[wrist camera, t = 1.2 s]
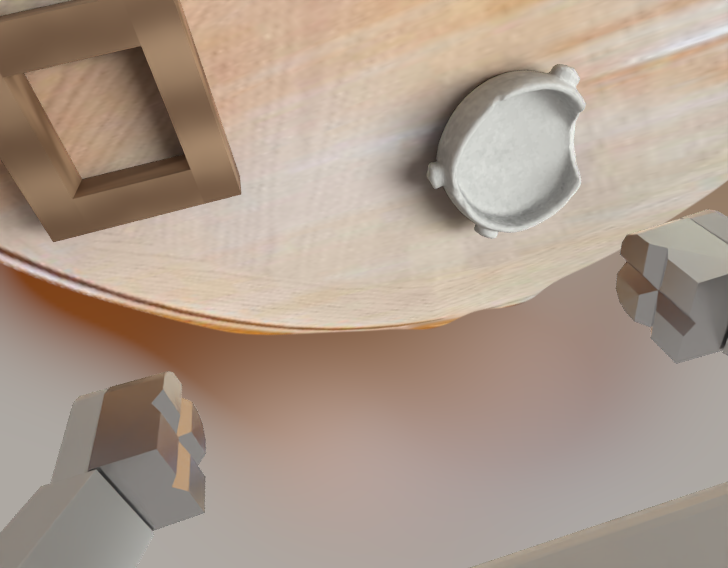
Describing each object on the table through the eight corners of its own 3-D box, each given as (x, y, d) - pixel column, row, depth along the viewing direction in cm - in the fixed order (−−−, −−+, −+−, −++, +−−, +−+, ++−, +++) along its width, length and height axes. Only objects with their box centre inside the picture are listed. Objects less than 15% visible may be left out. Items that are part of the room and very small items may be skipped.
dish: (545, 32, 44) (577, 46, 40) (585, 160, 52) (615, 182, 48) (397, 130, 46) (414, 151, 42) (459, 238, 54) (477, 265, 50)
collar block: (-53, 27, 35) (-77, 39, 32) (172, -22, 36) (168, -16, 33) (63, 220, 44) (53, 242, 41) (239, 176, 45) (241, 194, 42)
